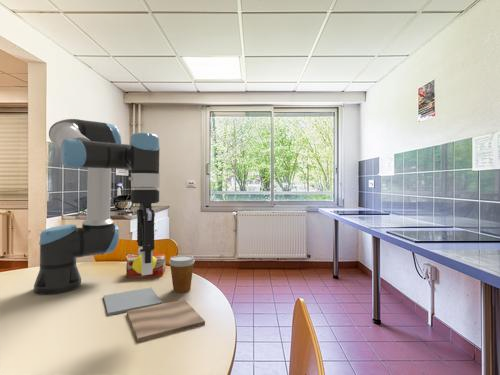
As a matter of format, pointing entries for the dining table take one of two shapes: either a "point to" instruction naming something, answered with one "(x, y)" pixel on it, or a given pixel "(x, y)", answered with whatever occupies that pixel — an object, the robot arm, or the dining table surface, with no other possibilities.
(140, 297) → the slate grey mat
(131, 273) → the medicine box
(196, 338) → the dining table surface
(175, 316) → the walnut board
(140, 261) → the lemon
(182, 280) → the disposable coffee cup
